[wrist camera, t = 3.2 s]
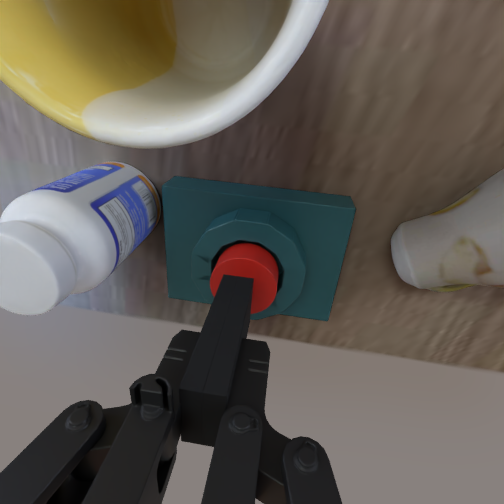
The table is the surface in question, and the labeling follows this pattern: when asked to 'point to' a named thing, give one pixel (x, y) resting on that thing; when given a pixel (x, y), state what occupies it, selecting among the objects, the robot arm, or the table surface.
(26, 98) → the mug
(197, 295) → the switch
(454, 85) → the table surface
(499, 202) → the mug
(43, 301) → the pill bottle
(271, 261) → the button
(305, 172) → the table surface
